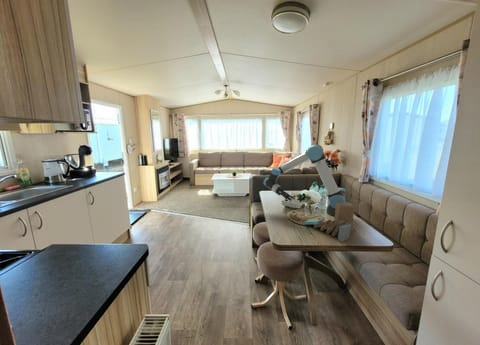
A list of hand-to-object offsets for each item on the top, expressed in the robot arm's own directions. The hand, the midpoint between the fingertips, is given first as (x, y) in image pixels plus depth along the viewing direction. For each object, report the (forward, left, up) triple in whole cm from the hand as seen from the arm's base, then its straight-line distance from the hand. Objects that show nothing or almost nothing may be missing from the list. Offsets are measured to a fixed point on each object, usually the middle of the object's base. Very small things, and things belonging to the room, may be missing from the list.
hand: (297, 203), depth 173 cm
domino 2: (+3, +20, -11) cm, 24 cm away
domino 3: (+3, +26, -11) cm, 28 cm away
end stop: (+3, +42, -12) cm, 43 cm away
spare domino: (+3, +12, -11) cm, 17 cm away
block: (-9, +34, -12) cm, 37 cm away
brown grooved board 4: (+3, +31, -12) cm, 33 cm away
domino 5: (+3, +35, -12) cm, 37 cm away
